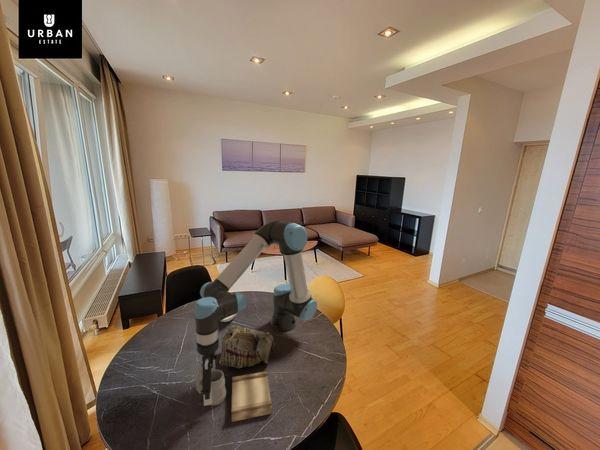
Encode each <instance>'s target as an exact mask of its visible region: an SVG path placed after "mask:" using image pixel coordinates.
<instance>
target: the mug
mask: <svg viewBox="0 0 600 450" xmlns="http://www.w3.org/2000/svg"><path fill="white" fill-rule="evenodd" d="M202 380H203V368H201V367H200V368H199V369H198V373H197V377H196V379H195V390H196V392H198V394H201V395H202V392H201V390H202ZM225 384H226V378H225V374H224V372H223V371H222V370H221V369H215V370H213V371H211V387H212V404H211V405H210V406H218V405H220V404H221V403H222V402H224V400H225V399H226V395H227V388H226V385H225Z"/></svg>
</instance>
